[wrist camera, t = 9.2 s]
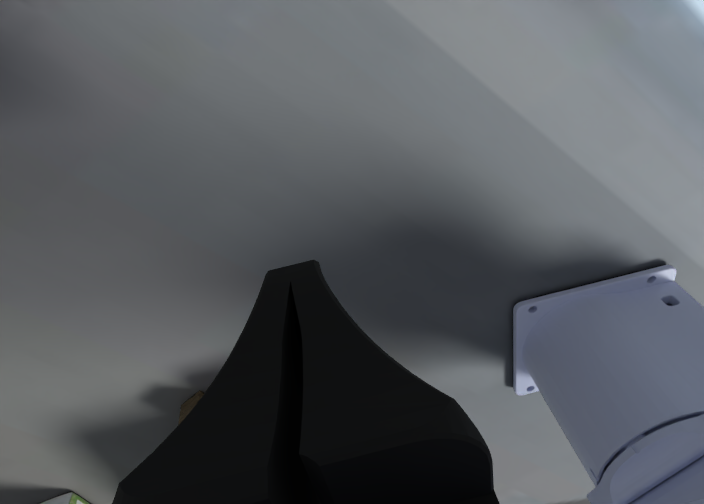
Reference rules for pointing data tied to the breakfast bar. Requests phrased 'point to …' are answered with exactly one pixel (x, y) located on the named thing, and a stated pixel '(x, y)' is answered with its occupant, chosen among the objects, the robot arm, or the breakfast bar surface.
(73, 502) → the syrup box
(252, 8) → the breakfast bar surface
